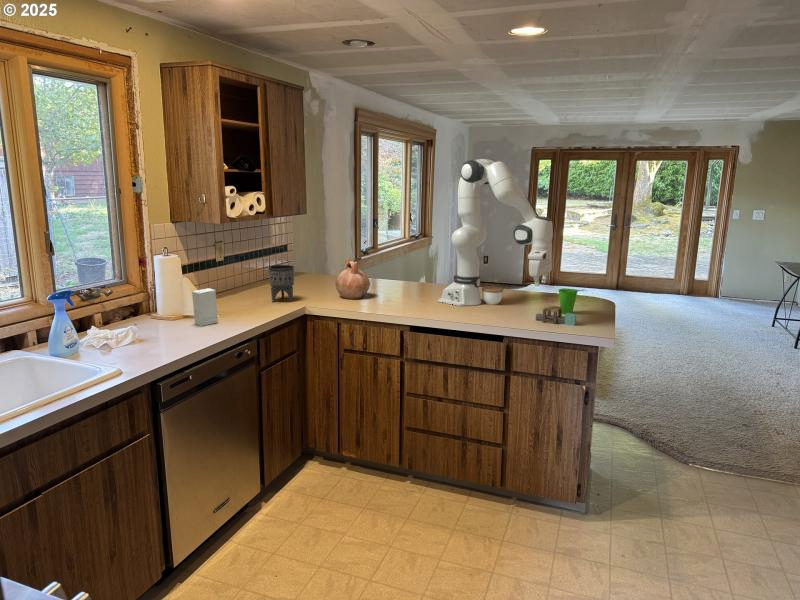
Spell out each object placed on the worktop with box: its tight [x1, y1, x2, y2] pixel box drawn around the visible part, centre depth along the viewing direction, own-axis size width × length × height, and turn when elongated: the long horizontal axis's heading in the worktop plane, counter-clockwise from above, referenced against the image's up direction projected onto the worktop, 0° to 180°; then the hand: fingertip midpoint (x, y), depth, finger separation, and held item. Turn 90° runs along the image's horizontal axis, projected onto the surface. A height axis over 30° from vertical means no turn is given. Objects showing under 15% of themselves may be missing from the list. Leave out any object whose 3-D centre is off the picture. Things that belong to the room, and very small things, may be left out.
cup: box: [557, 288, 579, 315], centre depth 267 cm, size 9×9×11 cm
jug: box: [335, 258, 371, 300], centre depth 299 cm, size 18×18×20 cm
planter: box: [267, 264, 295, 304], centre depth 289 cm, size 13×13×18 cm
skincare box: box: [191, 287, 219, 327], centre depth 244 cm, size 8×6×15 cm
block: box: [564, 312, 578, 327], centre depth 248 cm, size 4×4×4 cm
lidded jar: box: [481, 285, 504, 306], centre depth 287 cm, size 11×11×9 cm
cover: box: [541, 304, 563, 325], centre depth 252 cm, size 6×8×6 cm
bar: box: [535, 312, 565, 325], centre depth 252 cm, size 13×3×3 cm, turn 60°
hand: (540, 284), depth 252 cm, fingers open, 8 cm apart
